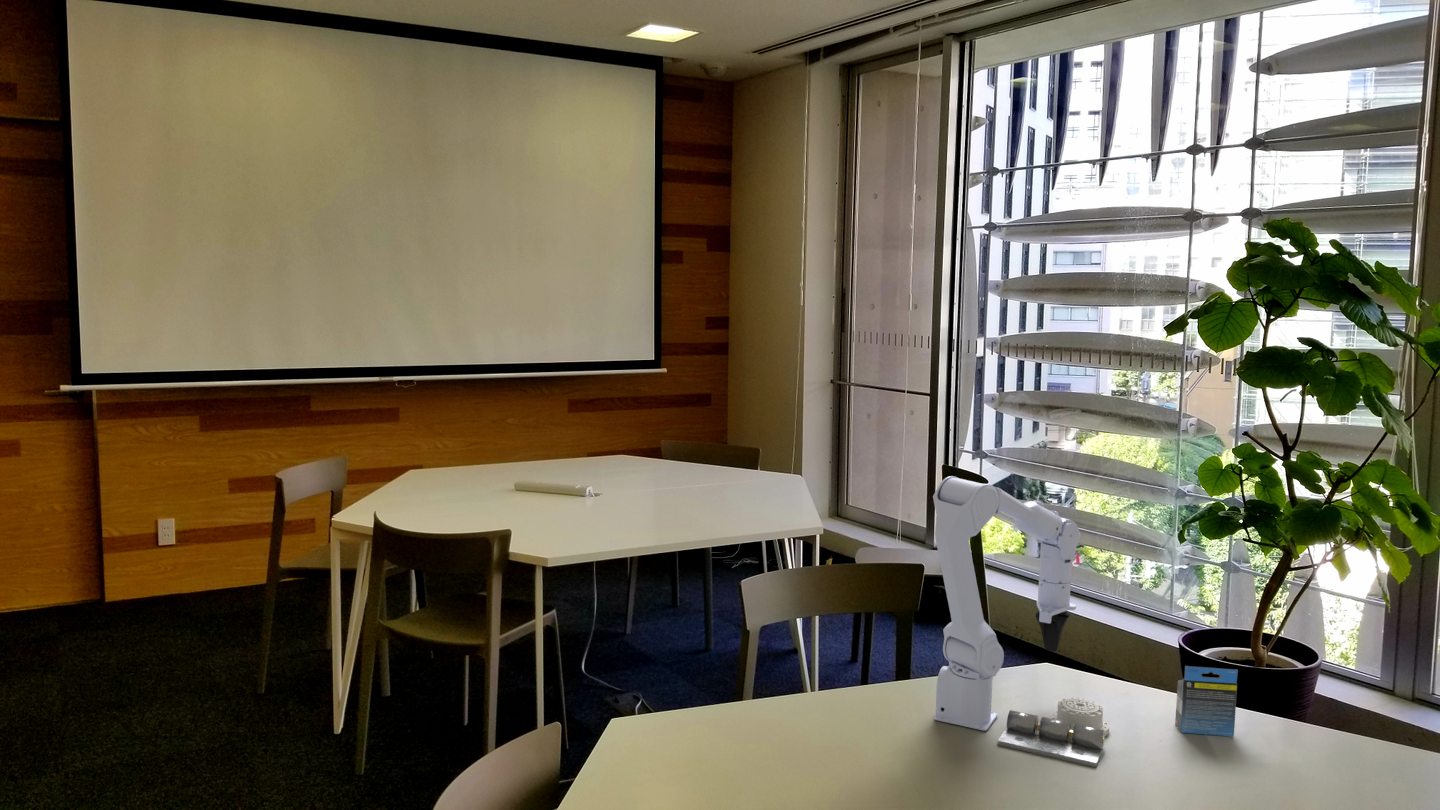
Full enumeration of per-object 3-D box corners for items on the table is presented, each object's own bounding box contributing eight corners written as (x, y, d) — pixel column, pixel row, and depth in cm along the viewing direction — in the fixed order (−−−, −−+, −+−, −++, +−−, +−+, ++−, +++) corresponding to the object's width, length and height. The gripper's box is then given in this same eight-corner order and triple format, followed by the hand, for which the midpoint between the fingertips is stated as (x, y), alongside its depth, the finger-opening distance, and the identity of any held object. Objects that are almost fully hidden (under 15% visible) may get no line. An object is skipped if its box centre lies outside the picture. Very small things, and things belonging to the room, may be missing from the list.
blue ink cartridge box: (1227, 728, 183) (1232, 661, 182) (1234, 738, 179) (1239, 669, 178) (1174, 724, 184) (1178, 657, 183) (1180, 733, 181) (1184, 665, 179)
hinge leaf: (997, 745, 175) (998, 724, 174) (1010, 726, 182) (1011, 706, 182) (1096, 767, 167) (1097, 746, 167) (1105, 747, 175) (1106, 726, 174)
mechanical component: (1052, 737, 179) (1113, 743, 177) (1054, 713, 178) (1114, 719, 176) (1046, 714, 188) (1104, 720, 186) (1048, 691, 188) (1105, 696, 186)
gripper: (1069, 592, 185) (1065, 665, 187) (1084, 573, 198) (1080, 642, 199) (1029, 586, 188) (1025, 658, 190) (1046, 568, 201) (1043, 635, 203)
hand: (1051, 649), depth 195 cm, fingers closed
